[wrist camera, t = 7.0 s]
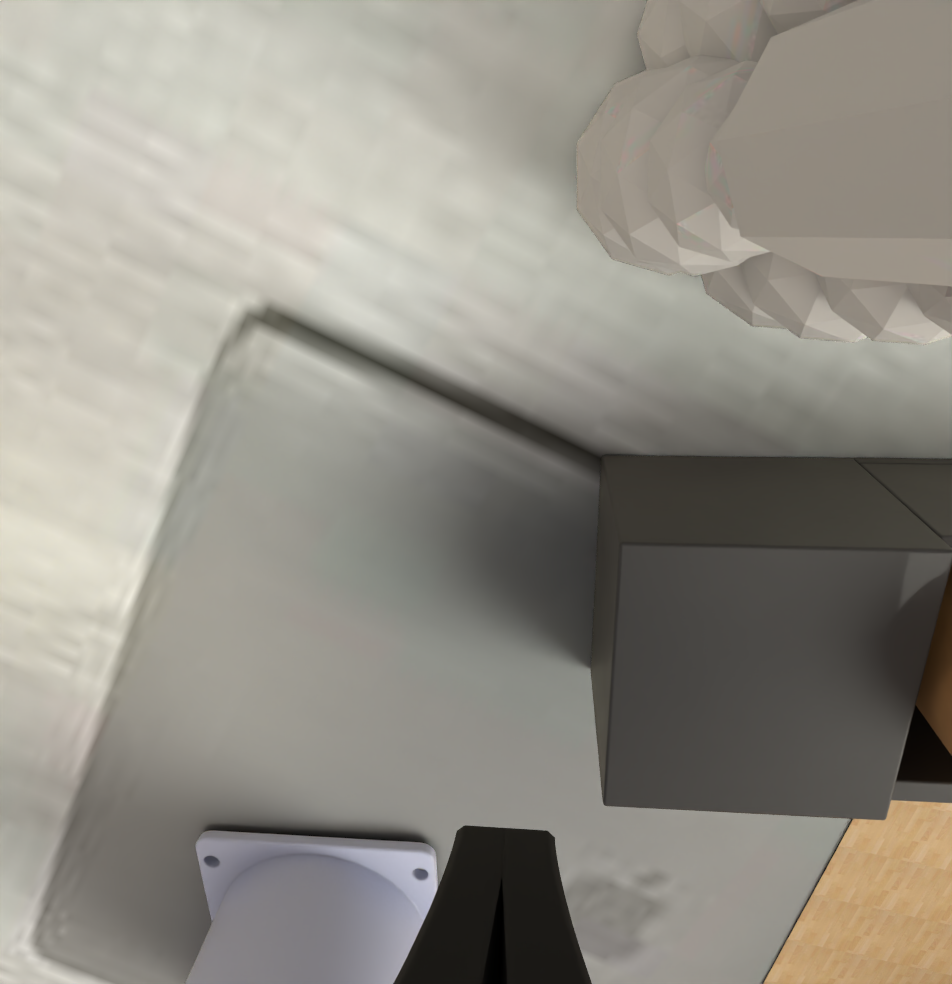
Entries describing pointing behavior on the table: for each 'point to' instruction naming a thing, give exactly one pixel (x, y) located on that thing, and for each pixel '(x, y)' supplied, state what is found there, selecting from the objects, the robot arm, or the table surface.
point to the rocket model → (786, 162)
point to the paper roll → (939, 674)
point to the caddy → (769, 633)
